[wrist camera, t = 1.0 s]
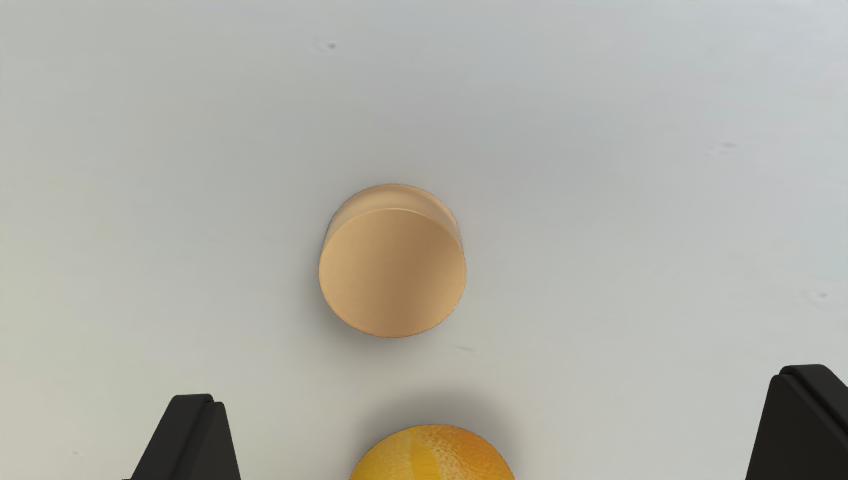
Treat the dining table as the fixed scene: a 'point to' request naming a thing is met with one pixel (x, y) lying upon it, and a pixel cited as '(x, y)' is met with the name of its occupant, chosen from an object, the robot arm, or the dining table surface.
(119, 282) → the dining table surface
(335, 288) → the lid
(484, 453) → the fruit
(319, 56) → the dining table surface
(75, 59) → the dining table surface
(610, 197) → the dining table surface
